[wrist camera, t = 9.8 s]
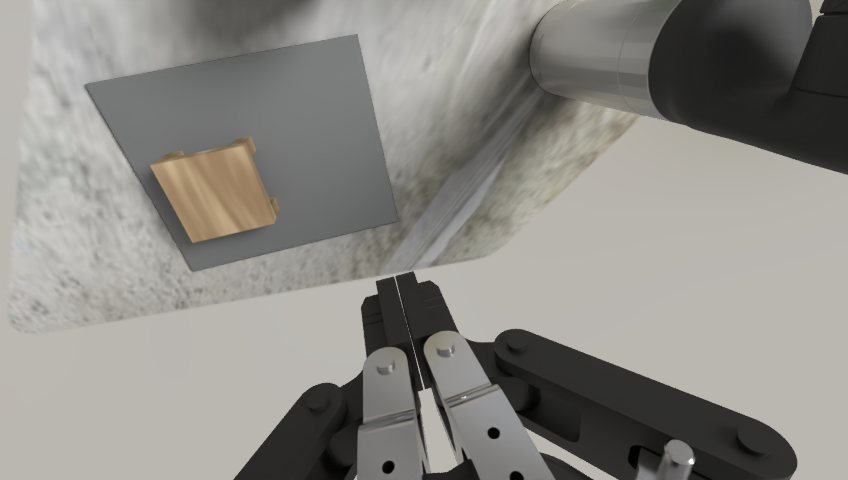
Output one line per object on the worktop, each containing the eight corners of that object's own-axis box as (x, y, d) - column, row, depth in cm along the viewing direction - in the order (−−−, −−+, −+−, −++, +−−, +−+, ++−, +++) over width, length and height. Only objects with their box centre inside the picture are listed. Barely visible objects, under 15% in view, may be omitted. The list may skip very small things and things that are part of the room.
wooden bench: (242, 146, 33) (149, 165, 32) (274, 223, 37) (192, 242, 36) (250, 136, 37) (167, 153, 36) (279, 208, 41) (204, 225, 40)
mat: (357, 34, 35) (357, 34, 35) (397, 219, 45) (398, 221, 45) (87, 83, 32) (84, 84, 32) (193, 269, 42) (192, 271, 42)
